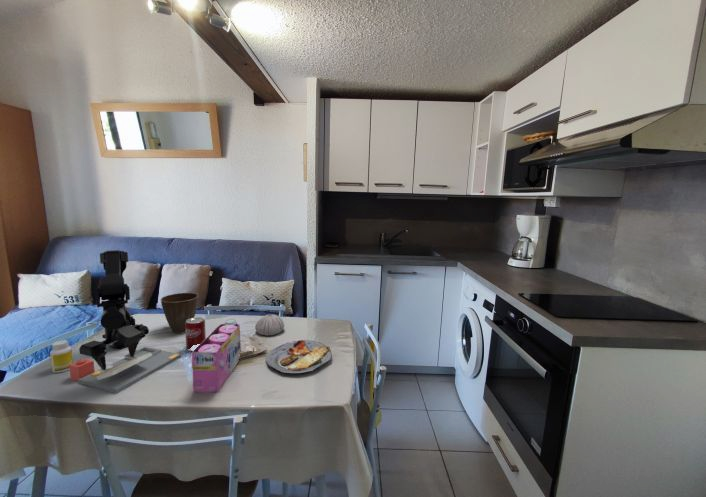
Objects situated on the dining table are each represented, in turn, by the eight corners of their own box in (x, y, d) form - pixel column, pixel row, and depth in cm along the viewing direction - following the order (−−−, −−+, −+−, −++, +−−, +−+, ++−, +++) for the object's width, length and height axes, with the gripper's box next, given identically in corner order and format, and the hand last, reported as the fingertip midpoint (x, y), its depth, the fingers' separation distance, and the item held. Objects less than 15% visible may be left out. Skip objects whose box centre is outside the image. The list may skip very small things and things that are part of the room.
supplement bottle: (77, 366, 108) (74, 340, 106) (58, 374, 103) (55, 347, 101) (67, 363, 109) (64, 338, 108) (48, 371, 104) (45, 344, 103)
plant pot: (156, 331, 139) (154, 297, 137) (189, 321, 151) (188, 290, 149) (172, 339, 131) (170, 304, 129) (205, 329, 143) (204, 296, 141)
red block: (70, 378, 100) (68, 363, 100) (85, 372, 105) (84, 356, 104) (79, 381, 99) (78, 365, 98) (94, 374, 103) (93, 359, 103)
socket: (124, 358, 112) (124, 355, 111) (145, 349, 119) (145, 346, 119) (141, 362, 109) (141, 359, 109) (161, 352, 117) (161, 349, 117)
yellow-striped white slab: (97, 380, 96) (96, 376, 96) (137, 360, 108) (135, 357, 108) (113, 374, 94) (112, 370, 94) (152, 355, 106) (150, 352, 106)
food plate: (301, 339, 134) (301, 332, 134) (343, 355, 121) (343, 347, 120) (254, 363, 114) (254, 355, 114) (297, 386, 101) (297, 377, 100)
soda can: (197, 353, 120) (196, 324, 118) (182, 350, 121) (180, 322, 120) (210, 345, 127) (208, 317, 125) (194, 343, 128) (193, 316, 127)
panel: (78, 382, 98) (77, 373, 98) (147, 350, 121) (146, 342, 121) (117, 393, 93) (116, 382, 93) (181, 357, 116) (180, 348, 116)
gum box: (222, 355, 119) (221, 322, 117) (242, 355, 119) (242, 322, 117) (192, 392, 95) (190, 351, 93) (218, 392, 95) (216, 352, 93)
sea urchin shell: (260, 339, 133) (259, 322, 132) (251, 329, 145) (251, 313, 143) (288, 333, 141) (288, 317, 140) (278, 324, 152) (278, 308, 151)
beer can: (227, 346, 126) (226, 319, 125) (239, 346, 127) (238, 318, 125) (223, 351, 121) (222, 323, 120) (235, 351, 122) (234, 323, 120)
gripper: (102, 333, 89) (106, 382, 91) (159, 312, 106) (161, 354, 108) (75, 328, 92) (80, 375, 94) (135, 308, 109) (138, 349, 112)
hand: (118, 363), depth 102 cm, fingers open, 9 cm apart
